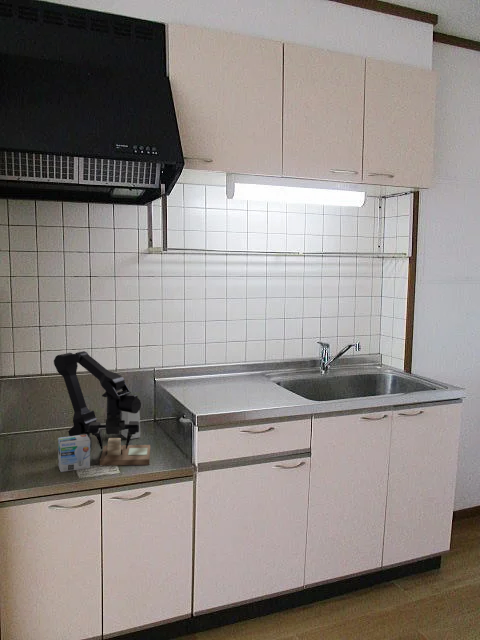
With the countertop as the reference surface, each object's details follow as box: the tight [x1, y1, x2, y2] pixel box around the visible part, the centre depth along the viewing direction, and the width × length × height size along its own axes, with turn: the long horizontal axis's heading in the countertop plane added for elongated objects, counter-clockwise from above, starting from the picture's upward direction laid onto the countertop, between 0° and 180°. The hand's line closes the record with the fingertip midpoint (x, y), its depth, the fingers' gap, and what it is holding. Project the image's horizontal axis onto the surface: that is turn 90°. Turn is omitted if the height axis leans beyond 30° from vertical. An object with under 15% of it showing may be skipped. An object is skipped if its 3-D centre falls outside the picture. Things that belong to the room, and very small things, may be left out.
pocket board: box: [99, 444, 151, 466], centre depth 201 cm, size 18×15×2 cm
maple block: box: [107, 437, 122, 456], centre depth 200 cm, size 4×4×7 cm
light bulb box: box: [57, 434, 91, 473], centre depth 190 cm, size 11×7×11 cm, turn 117°
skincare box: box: [120, 410, 141, 440], centre depth 224 cm, size 8×6×15 cm
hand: (114, 448), depth 200 cm, fingers open, 9 cm apart
